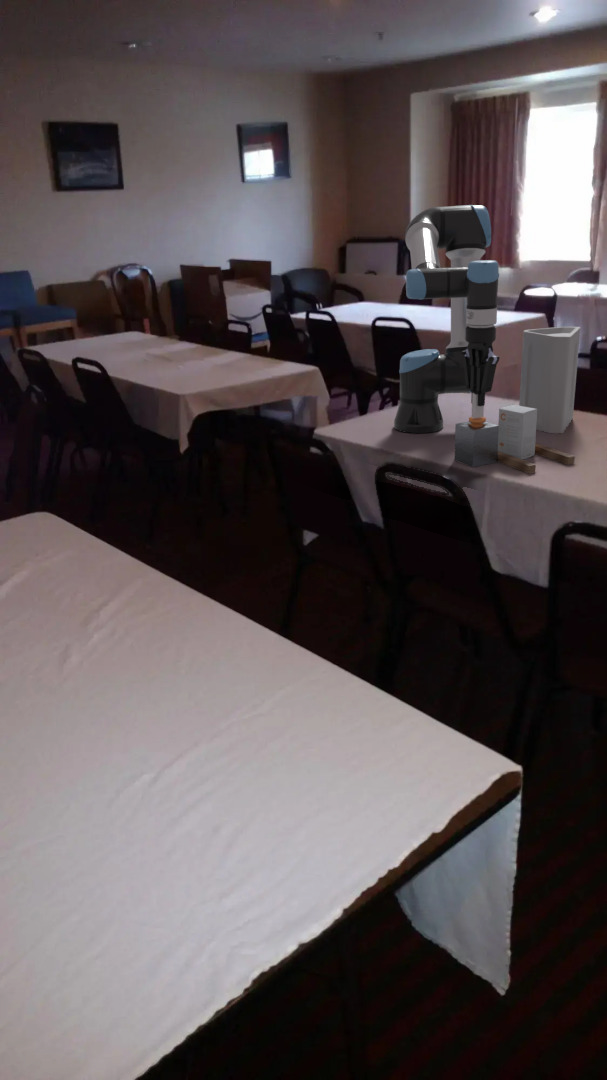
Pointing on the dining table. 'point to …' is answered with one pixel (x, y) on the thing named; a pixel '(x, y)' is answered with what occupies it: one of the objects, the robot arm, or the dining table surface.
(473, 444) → the grey block with hole
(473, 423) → the orange piece
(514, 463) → the track
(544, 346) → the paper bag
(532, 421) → the small box
